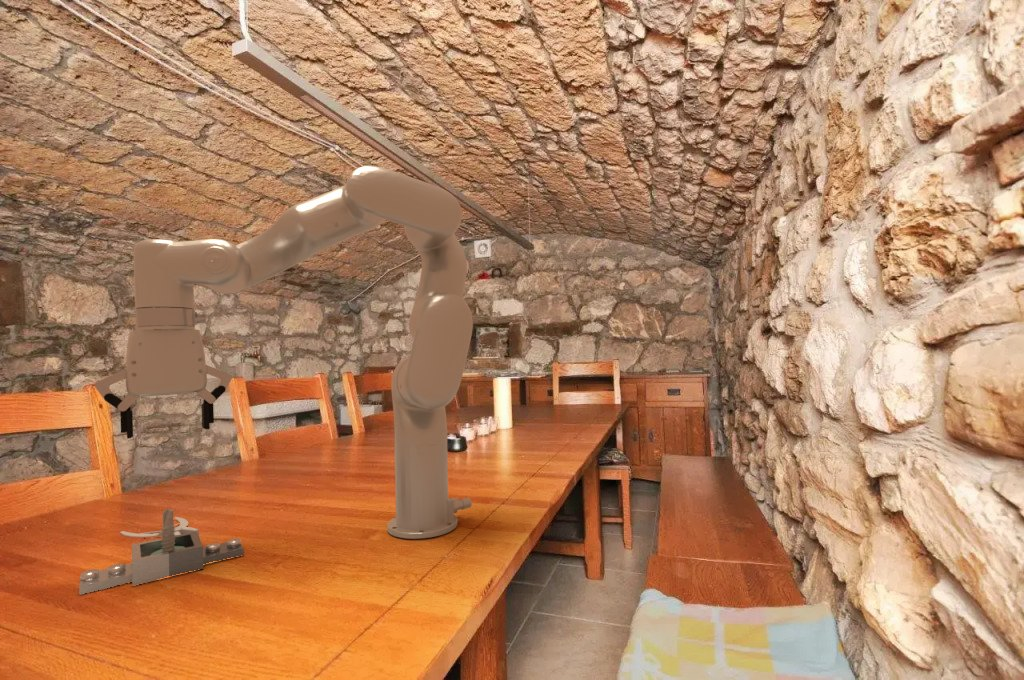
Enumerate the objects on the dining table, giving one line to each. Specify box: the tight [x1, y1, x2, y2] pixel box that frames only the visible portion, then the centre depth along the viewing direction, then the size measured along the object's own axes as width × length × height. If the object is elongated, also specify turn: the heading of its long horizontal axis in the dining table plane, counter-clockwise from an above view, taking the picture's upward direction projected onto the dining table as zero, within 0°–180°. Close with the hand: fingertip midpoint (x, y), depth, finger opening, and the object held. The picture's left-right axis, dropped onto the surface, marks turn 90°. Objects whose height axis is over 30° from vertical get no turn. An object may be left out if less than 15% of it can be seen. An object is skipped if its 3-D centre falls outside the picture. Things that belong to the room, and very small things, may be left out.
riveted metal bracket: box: [78, 531, 245, 596], centre depth 76 cm, size 20×8×4 cm, turn 128°
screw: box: [151, 508, 185, 555], centre depth 76 cm, size 9×5×5 cm
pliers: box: [119, 516, 200, 538], centre depth 92 cm, size 10×2×15 cm
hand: (169, 432), depth 77 cm, fingers open, 9 cm apart
